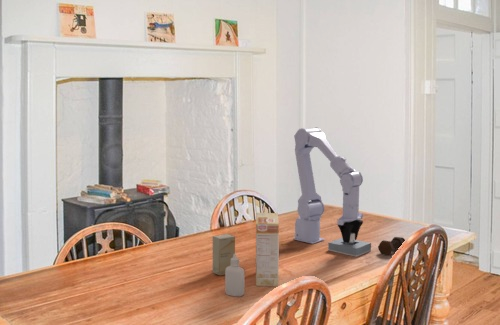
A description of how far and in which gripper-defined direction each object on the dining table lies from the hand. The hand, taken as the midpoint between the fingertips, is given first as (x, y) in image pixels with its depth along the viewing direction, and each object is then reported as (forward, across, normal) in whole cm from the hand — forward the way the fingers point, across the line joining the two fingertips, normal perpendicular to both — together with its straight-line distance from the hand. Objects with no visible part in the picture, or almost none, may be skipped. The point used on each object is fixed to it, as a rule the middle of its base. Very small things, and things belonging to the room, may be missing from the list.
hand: (349, 240), depth 211 cm
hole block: (+4, 0, 0) cm, 4 cm away
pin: (+3, 0, 0) cm, 3 cm away
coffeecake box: (+4, -44, +3) cm, 44 cm away
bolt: (+4, +12, -12) cm, 17 cm away
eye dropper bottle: (+4, -61, +1) cm, 61 cm away
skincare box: (+4, -49, +17) cm, 52 cm away
